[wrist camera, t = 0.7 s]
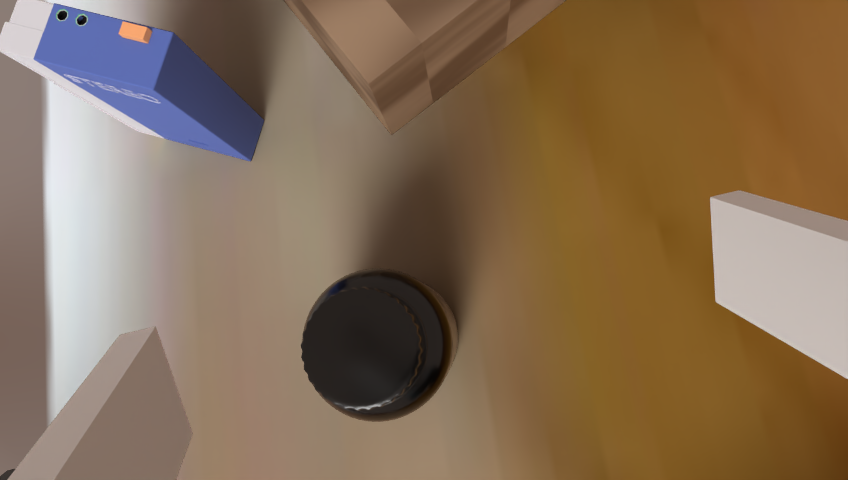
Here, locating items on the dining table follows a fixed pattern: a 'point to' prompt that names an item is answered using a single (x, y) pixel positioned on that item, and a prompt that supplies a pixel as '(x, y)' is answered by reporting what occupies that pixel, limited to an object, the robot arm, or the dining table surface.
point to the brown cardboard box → (413, 45)
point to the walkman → (132, 75)
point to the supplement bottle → (378, 344)
